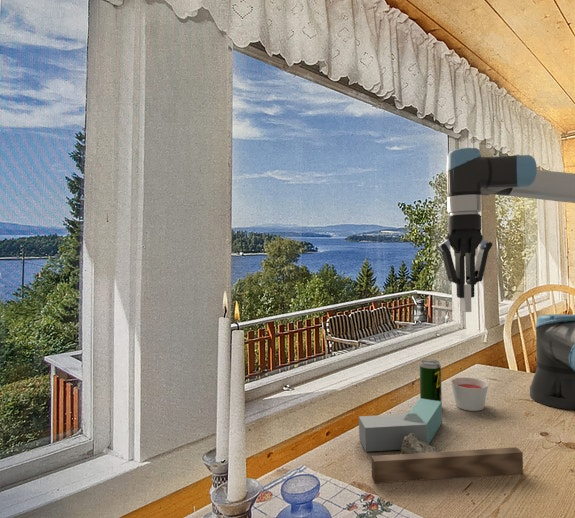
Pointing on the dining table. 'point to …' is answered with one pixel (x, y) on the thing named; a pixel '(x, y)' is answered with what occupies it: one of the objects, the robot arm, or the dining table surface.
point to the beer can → (430, 380)
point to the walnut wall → (447, 464)
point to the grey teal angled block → (400, 426)
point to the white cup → (469, 393)
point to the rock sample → (415, 445)
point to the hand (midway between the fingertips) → (465, 311)
